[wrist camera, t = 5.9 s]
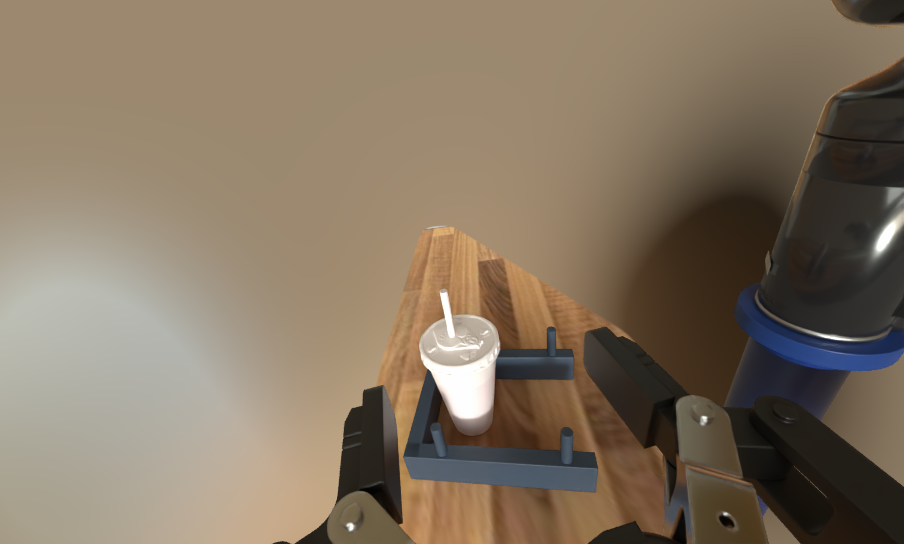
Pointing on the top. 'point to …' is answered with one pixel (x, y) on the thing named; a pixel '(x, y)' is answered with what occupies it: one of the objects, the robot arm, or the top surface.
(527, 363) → the rack
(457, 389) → the smoothie
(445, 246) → the top surface
